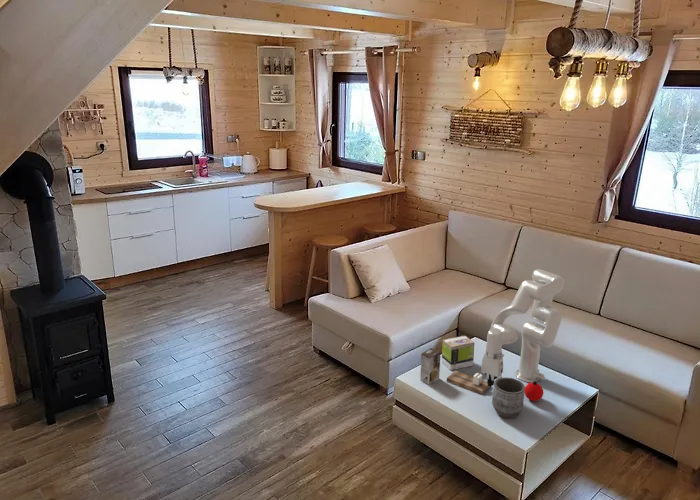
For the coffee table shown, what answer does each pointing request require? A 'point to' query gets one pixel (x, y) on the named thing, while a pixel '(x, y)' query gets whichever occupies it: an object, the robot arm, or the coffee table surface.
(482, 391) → the fader console
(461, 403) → the coffee table surface
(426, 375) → the coffee box
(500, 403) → the planter
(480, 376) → the fader
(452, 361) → the tea box
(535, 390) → the ornament
